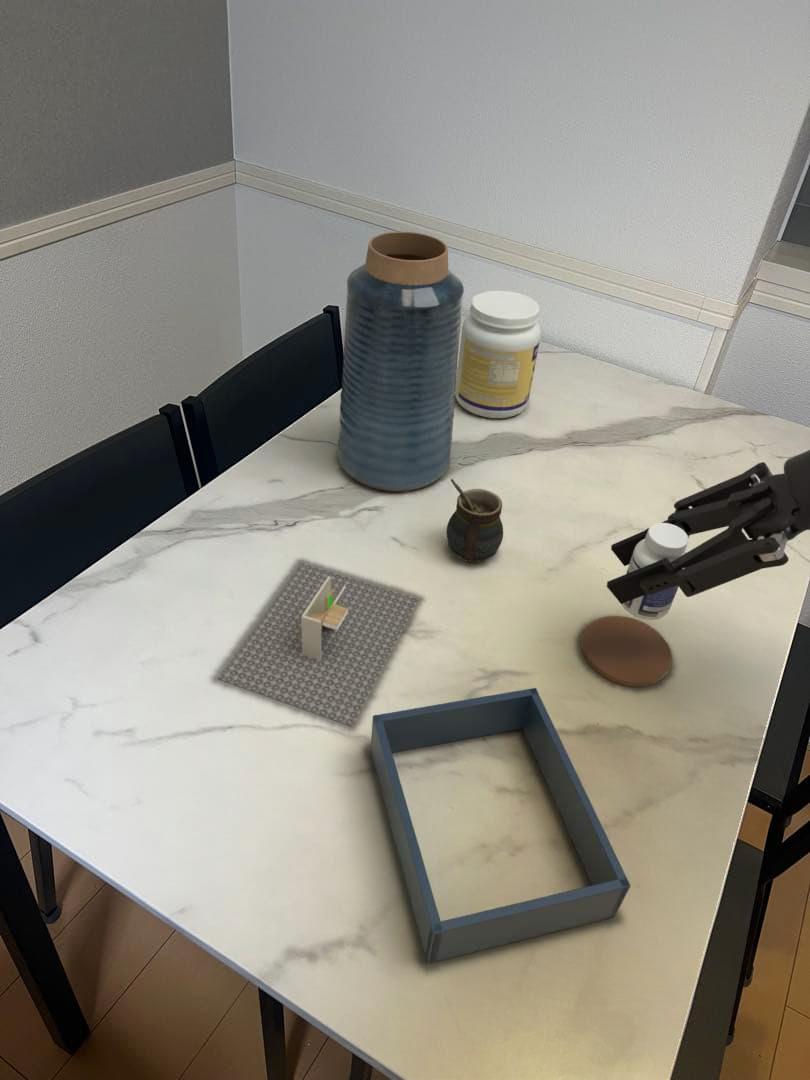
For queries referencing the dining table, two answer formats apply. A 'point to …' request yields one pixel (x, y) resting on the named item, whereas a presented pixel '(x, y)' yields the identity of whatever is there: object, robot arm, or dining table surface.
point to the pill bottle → (650, 550)
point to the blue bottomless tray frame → (567, 793)
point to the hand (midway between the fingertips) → (616, 573)
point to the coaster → (626, 651)
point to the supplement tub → (498, 354)
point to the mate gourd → (475, 525)
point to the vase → (400, 363)
